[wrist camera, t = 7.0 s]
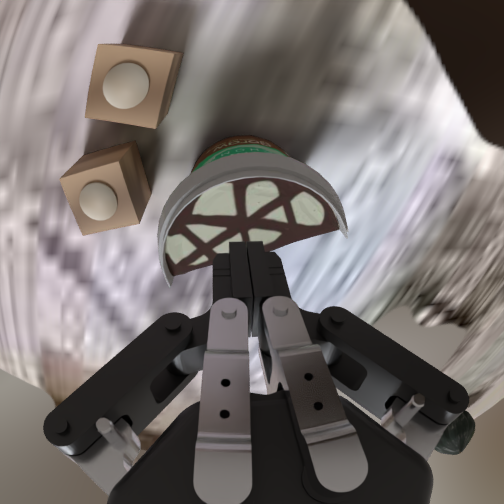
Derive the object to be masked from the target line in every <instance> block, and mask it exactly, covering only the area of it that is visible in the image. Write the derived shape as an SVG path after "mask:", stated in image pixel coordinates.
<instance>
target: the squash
mask: <svg viewBox="0 0 504 504" xmlns="http://www.w3.org/2000/svg"><path fill="white" fill-rule="evenodd" d="M474 431H475V422H474V419H473V418H472V416H471V415H470V414H469V412H467V411H464V412H463V413H461V414H460V415H459V416H458V417H457V418H456V419H455V420H454V421H453V422H451V423H450V424H449V425H448V426H447V427H446V429H445V431H444V432H443V434H442V436H441V438H440V440H439V442H438V443H437V445H436V447H435V450H436V451H438V452H440V453H443V454H452V455H456V454H459V453H461V452H462V451H463V450H464V449H465V447H466V446H467V444H468V443H469V441H470V440H471V438H472V436H473V434H474Z"/></svg>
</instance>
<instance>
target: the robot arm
mask: <svg viewBox="0 0 504 504" xmlns="http://www.w3.org/2000/svg"><path fill="white" fill-rule="evenodd" d="M251 332H252V337H258V340H259V349H258V352H259V357H260V361H261V366H262V370H263V374H264V379H265V383H266V387H267V395H262V394H255V393H250V375H249V351H248V337H250V336H251ZM200 370H203V374H202V386H201V398H200V401H199V402H197V403H195V404H193V405H191V406H189V407H188V408H186V409H185V410H184V411H183V412H181V413H180V414H179V415H178V417H177V418H176V419H175V420H174V421H173V422H172V423H171V425H170V426H169V427H168V428H167V429H166V430H165V431H164V432H163V434H162V435H161V436H160V437H159V438H158V439H157V440H156V441H155V443H154V444H153V445H152V446H151V447H150V448H149V449H148V450H147V451H146V453H145V454H144V455H143V456H142V457H141V458H140V459H139V460H138V461H137V462H136V463H135V465H134V466H133V467H132V465H133V461H134V459H135V458H136V456H137V455H138V453H139V450H140V441H139V438H138V437H137V436H138V435H139V434H140V433H141V432H142V431H143V430H144V429H145V428H146V427H147V426H148V425H149V424H150V423H151V422H152V421H153V420H154V419H155V418H156V417H157V415H158V414H159V413H160V412H161V411H162V410H163V409H164V408H165V407H166V406H167V405H168V404H169V403H170V402H171V401H172V400H173V399H174V398H175V397H176V396H177V395H178V394H179V393H180V392H181V391H182V390H183V389H184V388H185V387H186V386H187V384H188V383H189V382H190V381H191V380H192V379H193V378H194V377H195V376H196V375H197V373H198V371H200ZM336 388H337V389H339V390H340V391H342V392H343V393H344V394H346V395H347V396H349V397H350V398H351V399H353V400H354V401H355V402H357V403H358V404H359V405H361V406H362V407H363V408H365V409H366V410H368V411H369V412H370V413H372V414H374V415H375V416H376V417H378V418H379V419H380V420H381V425H380V424H378V423H377V422H376V421H374V420H373V419H372V418H370V417H369V416H368V415H366V414H365V413H364V412H363V411H361V410H360V409H359V408H357V407H356V406H355V405H354V404H352V403H351V402H349V401H348V400H347V399H345V398H343V397H342V396H339V395H338V393H337V390H336ZM468 404H469V396H468V393H467V391H466V390H465V388H464V387H463V386H462V385H461V384H459V383H458V382H456V381H455V380H453V379H451V378H450V377H448V376H447V375H445V374H444V373H442V372H441V371H439V370H438V369H436V368H435V367H433V366H432V365H430V364H429V363H427V362H426V361H424V360H423V359H421V358H419V357H418V356H416V355H415V354H413V353H412V352H410V351H408V350H407V349H406V348H404V347H403V346H401V345H400V344H398V343H397V342H395V341H394V340H392V339H390V338H389V337H387V336H386V335H384V334H383V333H381V332H380V331H378V330H377V329H375V328H374V327H372V326H371V325H369V324H368V323H366V322H364V321H363V320H361V319H360V318H358V317H357V316H355V315H354V314H352V313H351V312H349V311H348V310H346V309H344V308H341V307H337V306H332V307H327V308H325V309H324V310H323V311H322V312H321V313H320V314H318V313H313V312H308V311H305V310H302V309H300V308H299V307H298V305H297V304H296V303H295V302H294V301H293V300H292V299H291V295H290V291H289V287H288V284H287V280H286V276H285V272H284V269H283V265H282V261H281V258H280V257H279V256H278V255H277V254H276V253H275V252H265V250H264V245H263V241H246V244H245V241H240V242H229V253H217V255H216V256H215V258H214V259H213V304H212V306H211V308H210V309H209V311H207V312H206V313H205V314H203V315H201V316H198V317H195V318H191V319H190V318H189V317H188V316H186V315H184V314H182V313H177V312H173V313H168V314H165V315H163V316H161V317H160V318H159V319H158V320H156V321H155V322H154V323H153V324H152V325H151V326H149V327H148V328H147V329H146V330H145V331H144V332H142V333H141V334H140V335H139V336H138V337H137V338H136V339H134V340H133V341H132V342H131V343H130V344H129V345H127V346H126V347H125V348H124V349H123V350H122V351H120V352H119V353H118V354H117V355H116V356H115V357H113V358H112V359H111V360H110V361H109V362H108V363H107V364H105V365H104V366H103V367H102V368H101V369H100V370H98V371H97V372H96V373H95V374H94V375H93V376H92V377H90V378H89V379H88V380H87V381H86V382H85V383H84V384H82V385H81V386H80V387H79V388H78V389H77V390H76V391H74V392H73V393H72V394H71V395H70V396H69V397H68V398H66V399H65V400H64V401H63V402H62V403H61V404H60V405H58V406H57V407H56V408H55V409H54V410H53V411H52V412H50V413H49V414H48V416H47V417H46V419H45V421H44V426H43V430H44V434H45V436H46V438H47V439H48V441H49V442H50V443H52V444H53V445H54V446H55V447H57V448H58V449H59V451H60V452H62V453H63V454H64V455H65V456H67V457H68V458H70V459H71V460H72V461H74V462H75V463H77V464H78V466H79V467H80V468H81V469H82V470H83V471H84V472H85V473H86V474H87V475H88V476H89V477H90V478H91V479H92V480H93V481H94V482H95V483H96V484H97V485H98V486H99V487H100V488H101V489H102V490H103V491H104V492H105V493H106V494H107V495H108V496H109V497H108V501H107V504H429V503H430V497H431V493H432V488H433V474H432V470H431V468H430V466H429V464H428V462H427V460H428V458H429V457H430V455H431V454H432V452H433V450H434V449H435V447H436V445H437V443H438V442H439V440H440V438H441V436H442V434H443V432H444V431H445V429H446V427H447V426H448V425H449V424H450V423H451V422H453V421H454V420H455V419H456V418H457V417H458V416H459V415H460V414H461V413H463V412H464V411H465V410H466V408H467V407H468Z"/></svg>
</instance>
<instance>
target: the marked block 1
mask: <svg viewBox="0 0 504 504" xmlns="http://www.w3.org/2000/svg"><path fill="white" fill-rule="evenodd" d="M183 54H184V53H181V52H176V51H170V50H164V49H158V48H151V47H144V46H137V45H128V44H98V47H97V51H96V56H95V60H94V65H93V70H92V75H91V81H90V86H89V92H88V98H87V105H86V112H85V118H91V119H98V120H105V121H112V122H118V123H124V124H130V125H136V126H142V127H147V128H153V129H156V128H157V127H158V125H159V124H160V123H161V122H162V120H163V119H164V118H165V116H166V115H167V114H168V110H169V106H170V102H171V98H172V94H173V90H174V86H175V83H176V79H177V75H178V71H179V68H180V64H181V61H182V57H183Z"/></svg>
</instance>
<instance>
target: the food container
mask: <svg viewBox="0 0 504 504" xmlns="http://www.w3.org/2000/svg"><path fill="white" fill-rule="evenodd" d="M336 230H340V231H341V232H342V233H343V235H344V236H345V237H346V238H348V236H347V232H348V227H347V222H346V218H345V214H344V210H343V206H342V204H341V202H340V200H339V197H338V195H337V194H336V192H335V191H334V189H333V188H332V186H331V185H330V184H329V182H328V181H327V180H325V179H324V178H323V177H322V176H321V175H320V174H319V173H318V172H317V171H315V170H314V169H312V168H311V167H309V166H308V165H306V164H304V163H302V162H300V161H297V160H295V159H293V158H291V157H290V156H289V155H288V154H287V153H286V152H285V151H284V150H282V149H281V148H280V147H278V146H277V145H275V144H274V143H272V142H271V141H269V140H266V139H263V138H259V137H255V136H252V135H243V136H233V137H228V138H225V139H223V140H220V141H218V142H216V143H215V144H213V145H212V146H210V147H209V148H208V149H207V150H206V151H204V152H203V154H202V155H201V156H200V157H199V158H198V160H197V162H196V163H195V165H194V167H193V169H192V171H191V174H190V175H189V176H188V177H187V178H185V179H184V180H183V181H182V182H181V183H180V184H179V185H178V186H177V188H176V189H175V190H174V191H173V193H172V194H171V195H170V197H169V199H168V200H167V202H166V204H165V206H164V208H163V210H162V213H161V217H160V220H159V225H158V233H157V237H158V252H159V261H160V265H161V269H162V272H163V274H164V276H165V279H166V281H167V283H168V285H169V287H171V285H172V281H173V278H174V276H176V275H180V274H185V273H187V272H189V271H192V270H195V269H199V268H203V267H206V266H210V265H213V259H214V258H215V256H216V255H217V253H229V242H240V241H245V244H246V241H263V245H264V250H265V252H270V251H273V250H275V249H278V248H280V247H283V246H285V245H288V244H291V243H293V242H296V241H300V240H303V239H307V238H310V237H314V236H317V235H321V234H325V233H328V232H332V231H336Z"/></svg>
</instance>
